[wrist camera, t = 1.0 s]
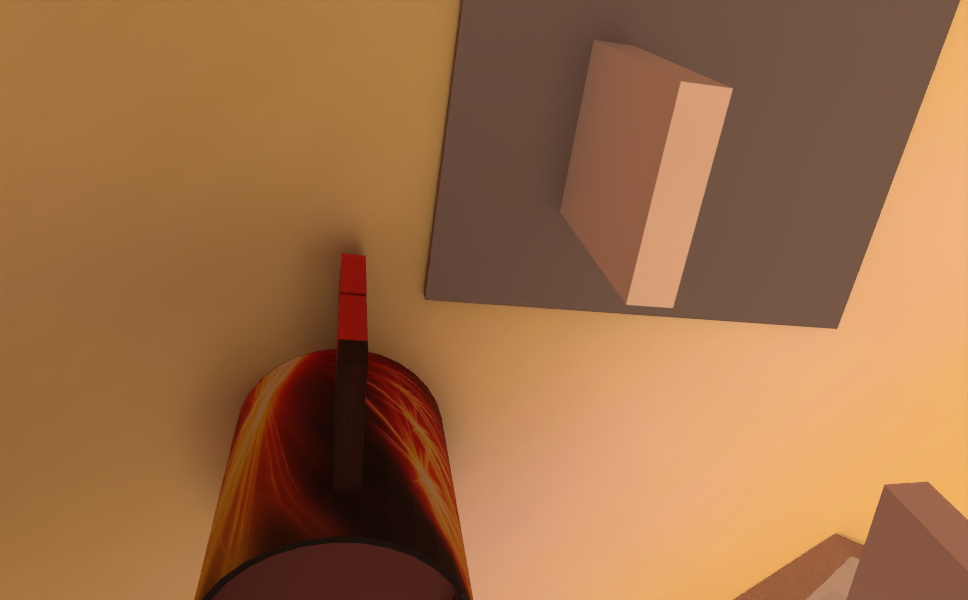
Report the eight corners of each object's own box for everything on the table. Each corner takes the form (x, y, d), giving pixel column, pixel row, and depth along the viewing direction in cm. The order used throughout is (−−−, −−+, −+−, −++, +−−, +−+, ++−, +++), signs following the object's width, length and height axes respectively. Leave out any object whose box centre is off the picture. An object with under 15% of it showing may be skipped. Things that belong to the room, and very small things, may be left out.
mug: (361, 235, 33) (363, 386, 22) (471, 475, 39) (514, 684, 28) (147, 318, 33) (46, 507, 22) (291, 543, 39) (267, 776, 28)
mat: (424, 293, 34) (425, 299, 34) (475, -114, 28) (477, -115, 27) (830, 323, 38) (837, 328, 38) (959, -29, 32) (970, -28, 31)
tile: (559, 212, 33) (626, 304, 25) (593, 39, 30) (680, 81, 22) (599, 215, 33) (677, 308, 25) (636, 45, 30) (737, 89, 22)
